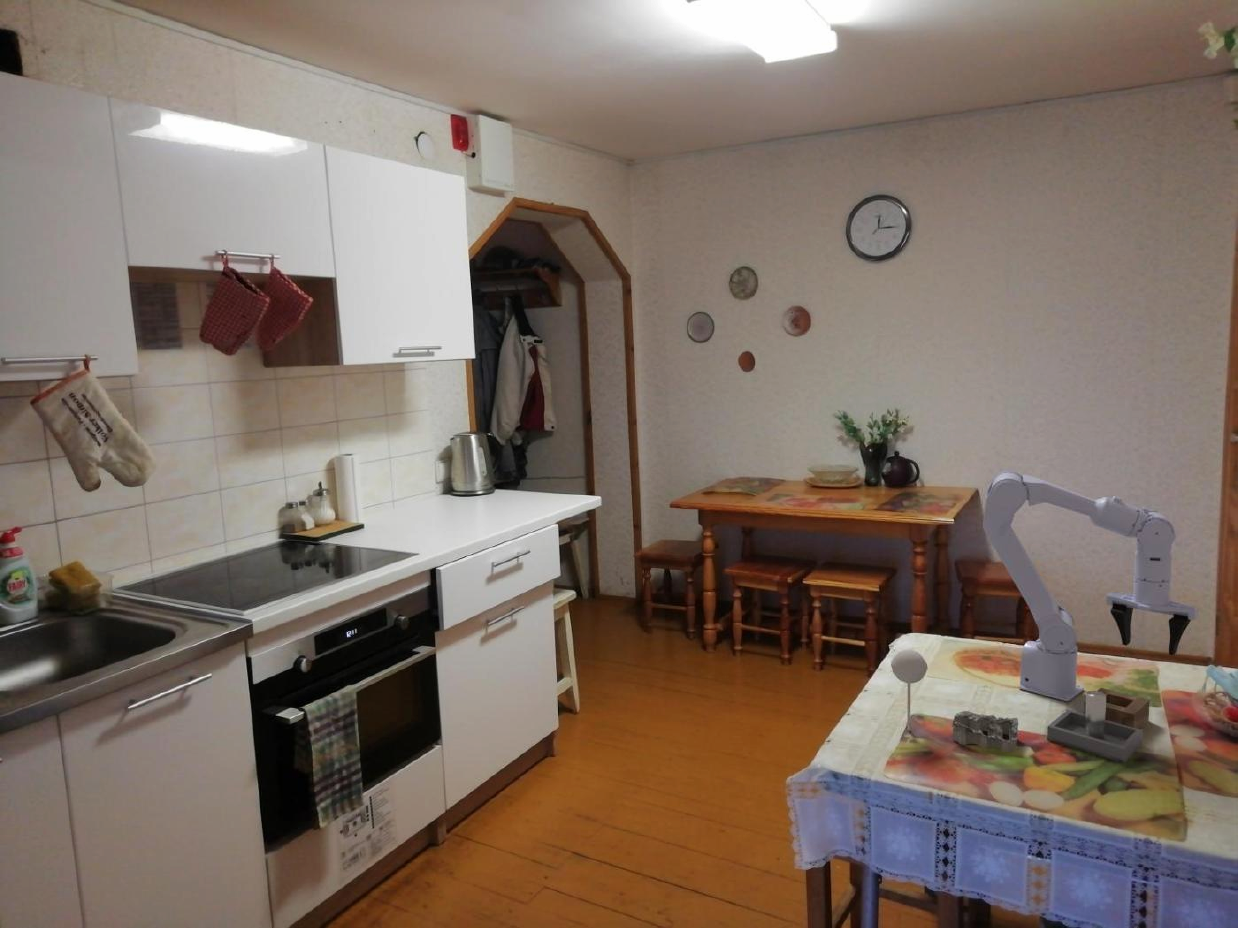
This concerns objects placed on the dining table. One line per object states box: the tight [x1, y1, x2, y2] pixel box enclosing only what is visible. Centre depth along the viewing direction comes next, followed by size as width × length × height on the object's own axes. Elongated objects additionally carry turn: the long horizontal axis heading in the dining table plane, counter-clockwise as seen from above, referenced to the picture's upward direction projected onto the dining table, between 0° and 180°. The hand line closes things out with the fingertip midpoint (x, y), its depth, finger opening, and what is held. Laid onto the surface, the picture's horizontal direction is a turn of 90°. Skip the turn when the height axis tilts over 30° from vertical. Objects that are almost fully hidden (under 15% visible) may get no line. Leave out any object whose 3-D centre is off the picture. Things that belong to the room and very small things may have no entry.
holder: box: [1083, 687, 1151, 730], centre depth 153 cm, size 8×8×4 cm
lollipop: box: [890, 649, 929, 732], centre depth 153 cm, size 6×6×15 cm
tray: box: [1046, 709, 1144, 764], centre depth 146 cm, size 12×9×2 cm
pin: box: [1085, 690, 1106, 741], centre depth 146 cm, size 3×3×8 cm
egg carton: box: [951, 710, 1019, 752], centre depth 149 cm, size 11×8×4 cm
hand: (1149, 648), depth 159 cm, fingers open, 7 cm apart
